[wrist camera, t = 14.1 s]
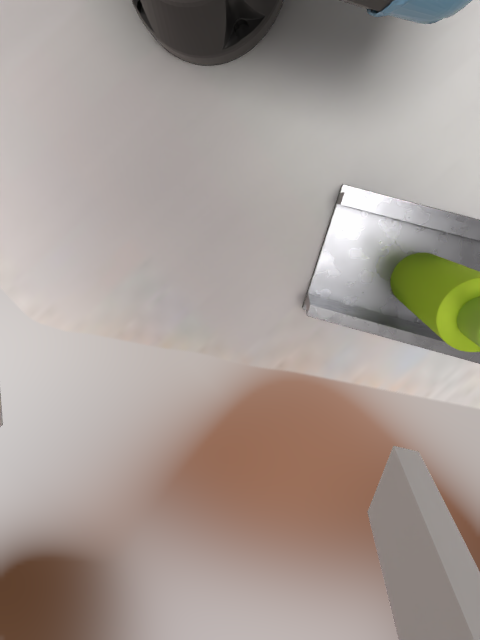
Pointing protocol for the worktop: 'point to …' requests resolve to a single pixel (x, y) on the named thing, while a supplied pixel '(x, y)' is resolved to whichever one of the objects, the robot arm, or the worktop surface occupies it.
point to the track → (385, 264)
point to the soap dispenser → (441, 297)
